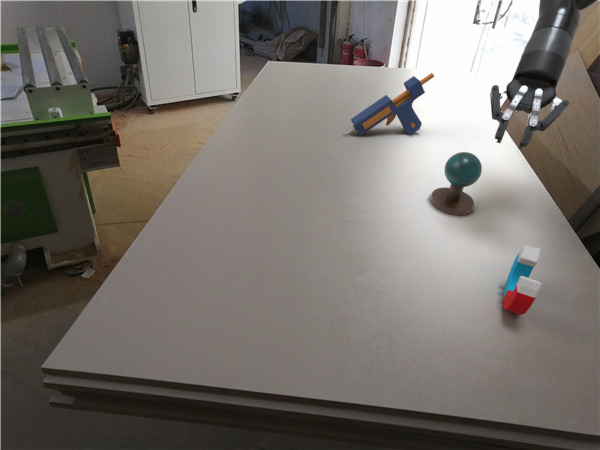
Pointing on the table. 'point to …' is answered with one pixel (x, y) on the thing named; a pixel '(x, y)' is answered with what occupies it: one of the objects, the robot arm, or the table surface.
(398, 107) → the glue gun
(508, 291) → the magnet
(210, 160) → the table surface
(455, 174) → the ball stand
